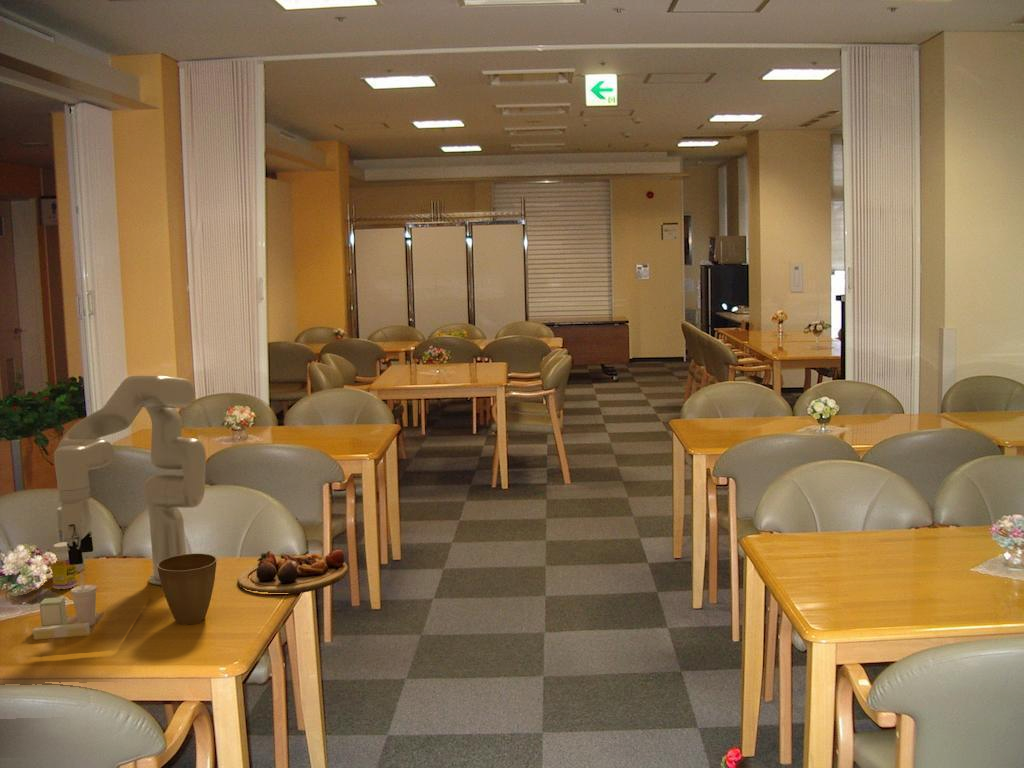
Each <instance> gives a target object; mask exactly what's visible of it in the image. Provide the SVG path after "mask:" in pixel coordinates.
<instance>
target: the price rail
mask: <svg viewBox="0 0 1024 768" xmlns="http://www.w3.org/2000/svg"><path fill="white" fill-rule="evenodd" d="M32 633H33V639H35V640H46V639H57V638H58V637H60V638H68V637H69V638H70V637H71V638H72V637H84V636H89V635H90V633H91V632H90V624H89V623H80V624H67V625H54V626H42V625H41V626H35V627H34V629H33V630H32Z"/></svg>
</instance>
